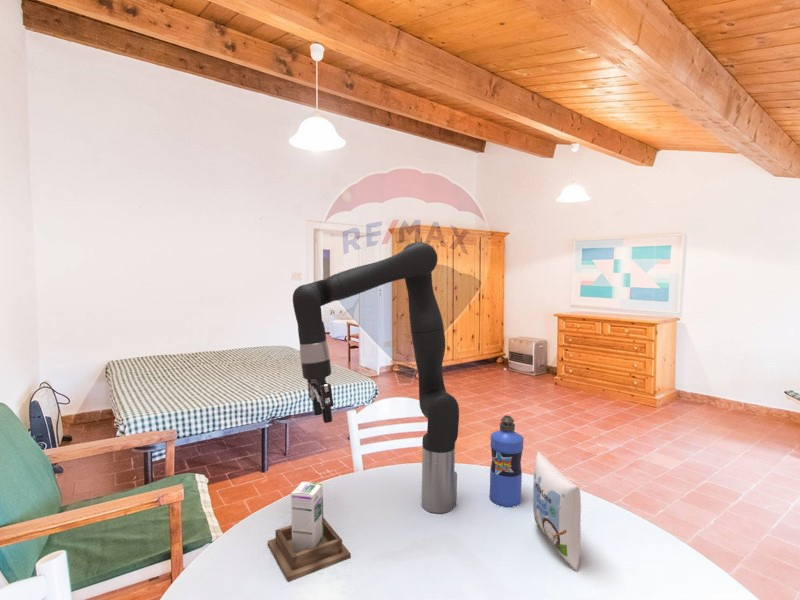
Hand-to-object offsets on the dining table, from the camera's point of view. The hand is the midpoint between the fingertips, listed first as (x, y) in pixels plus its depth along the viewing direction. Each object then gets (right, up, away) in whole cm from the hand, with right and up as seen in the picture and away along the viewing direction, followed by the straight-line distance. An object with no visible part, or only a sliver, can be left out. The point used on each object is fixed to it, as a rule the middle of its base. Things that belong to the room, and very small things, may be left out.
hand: (323, 418), depth 118 cm
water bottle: (+52, -27, +12) cm, 60 cm away
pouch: (+59, -29, -10) cm, 66 cm away
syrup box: (-1, -27, -13) cm, 30 cm away
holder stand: (-1, -28, -13) cm, 31 cm away
